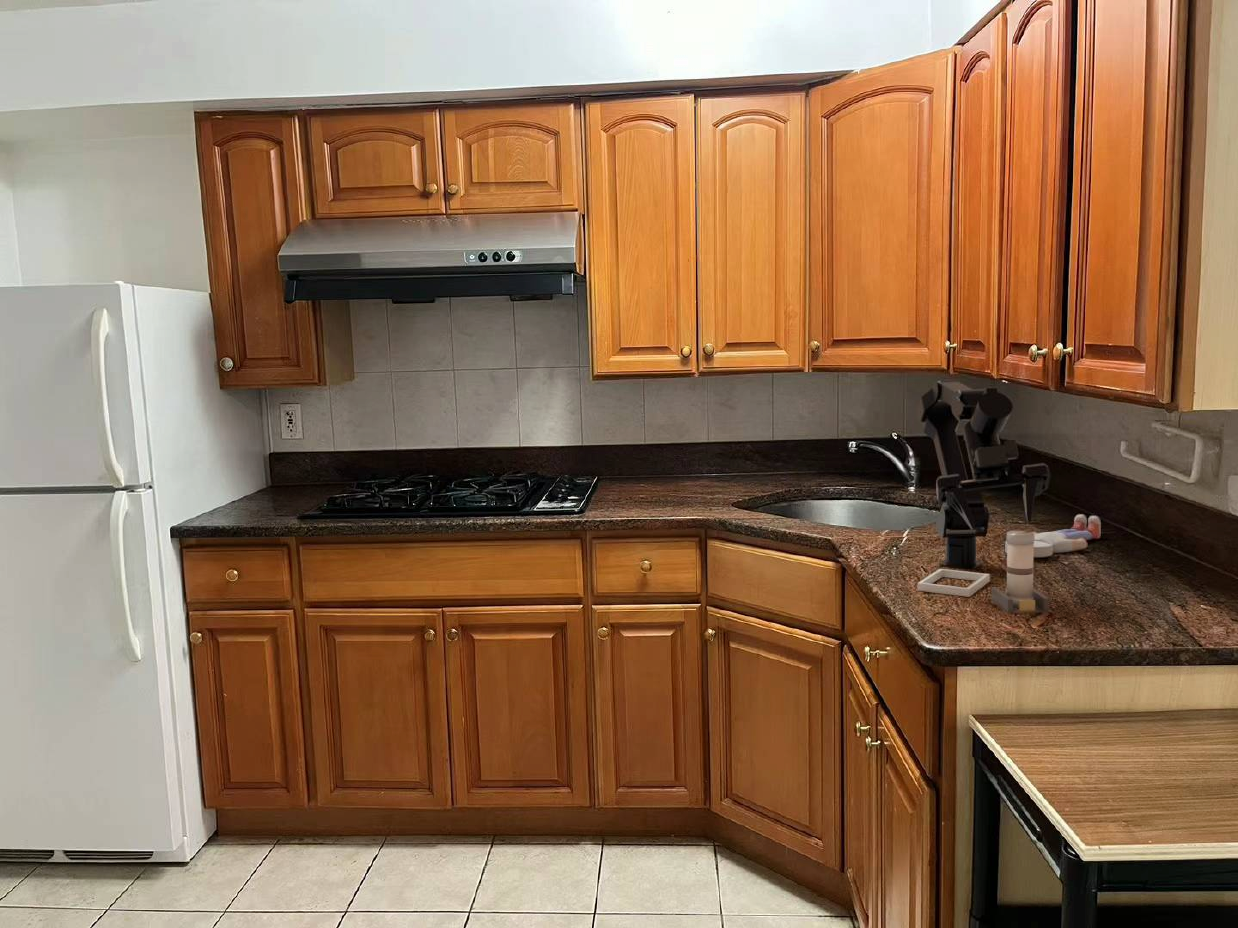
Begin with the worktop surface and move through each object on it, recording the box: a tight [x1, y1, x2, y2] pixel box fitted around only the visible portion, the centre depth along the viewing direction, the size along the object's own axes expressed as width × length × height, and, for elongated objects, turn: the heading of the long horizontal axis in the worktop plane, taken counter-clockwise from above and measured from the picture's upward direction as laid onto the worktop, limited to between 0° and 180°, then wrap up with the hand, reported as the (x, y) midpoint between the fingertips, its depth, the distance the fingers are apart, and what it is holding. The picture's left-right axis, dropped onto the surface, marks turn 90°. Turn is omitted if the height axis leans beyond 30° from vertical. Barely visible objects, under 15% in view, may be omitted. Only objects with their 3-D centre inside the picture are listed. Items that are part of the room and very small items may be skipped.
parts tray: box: [916, 568, 991, 598], centre depth 173 cm, size 12×9×2 cm
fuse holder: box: [988, 586, 1053, 614], centre depth 160 cm, size 9×7×3 cm
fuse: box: [1006, 530, 1035, 608], centre depth 159 cm, size 4×4×12 cm
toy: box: [1004, 513, 1102, 558], centre depth 204 cm, size 6×13×30 cm
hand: (1001, 526), depth 167 cm, fingers open, 9 cm apart
